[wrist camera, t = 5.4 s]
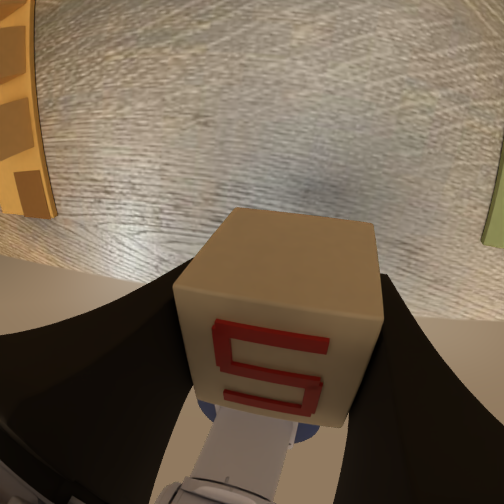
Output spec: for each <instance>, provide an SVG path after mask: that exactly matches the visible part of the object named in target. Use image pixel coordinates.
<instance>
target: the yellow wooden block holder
mask: <svg viewBox="0 0 504 504" xmlns="http://www.w3.org/2000/svg"><path fill="white" fill-rule="evenodd" d="M34 8H35V0H0V204H1V208H2V211H3V213H8V214H19V215H24V217H33V218H43V219H51V218H54V217H56V216H57V211H56V207H55V203H54V199H53V194H52V190H51V185H50V181H49V176H48V171H47V166H46V161H45V155H44V149H43V143H42V137H41V130H40V123H39V115H38V106H37V96H36V84H35V67H34Z"/></svg>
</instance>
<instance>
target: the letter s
mask: <svg viewBox="0 0 504 504" xmlns="http://www.w3.org/2000/svg"><path fill="white" fill-rule="evenodd" d="M173 292H174V298H175V303H176V308H177V313H178V318H179V323H180V328H181V333H182V338H183V342H184V347H185V351H186V356H187V360H188V364H189V369H190V373H191V377H192V381H193V385H194V389H195V393H196V397H197V399H198V400H201V401H204V402H208V403H212V404H216V405H219V406H223V407H227V408H231V409H235V410H240V411H244V412H248V413H253V414H257V415H262V416H267V417H272V418H277V419H282V420H288V421H294V422H299V423H306V424H312V425H319V426H326V427H334V428H341V427H342V426H343V424H344V421H345V419H346V417H347V415H348V413H349V410H350V408H351V406H352V404H353V401H354V399H355V396H356V394H357V392H358V389H359V387H360V384H361V382H362V379H363V377H364V374H365V372H366V369H367V367H368V364H369V361H370V359H371V356H372V353H373V350H374V348H375V345H376V342H377V339H378V336H379V333H380V330H381V327H382V324H383V321H384V311H383V299H382V289H381V279H380V270H379V262H378V254H377V246H376V239H375V232H374V226H373V224H372V223H367V222H360V221H352V220H345V219H337V218H329V217H321V216H313V215H304V214H296V213H287V212H278V211H269V210H259V209H249V208H239V207H236V208H234V210H233V211H232V212H231V213H230V214H229V216H228V217H227V218H226V219H225V220H224V222H223V223H222V224H221V225H220V226H219V228H218V229H217V230H216V231H215V233H214V234H213V235H212V236H211V237H210V239H209V240H208V241H207V242H206V244H205V245H204V246H203V247H202V249H201V250H200V251H199V252H198V254H197V255H196V256H195V257H194V258H193V260H192V261H191V262H190V263H189V265H188V266H187V267H186V269H185V270H184V271H183V272H182V274H181V275H180V276H179V277H178V279H177V280H176V281H175V282H174V284H173Z"/></svg>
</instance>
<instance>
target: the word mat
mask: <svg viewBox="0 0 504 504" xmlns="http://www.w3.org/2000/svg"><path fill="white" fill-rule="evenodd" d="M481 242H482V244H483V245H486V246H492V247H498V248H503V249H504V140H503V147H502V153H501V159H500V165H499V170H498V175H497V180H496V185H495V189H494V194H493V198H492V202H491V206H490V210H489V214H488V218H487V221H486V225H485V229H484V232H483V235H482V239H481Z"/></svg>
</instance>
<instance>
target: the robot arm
mask: <svg viewBox="0 0 504 504" xmlns="http://www.w3.org/2000/svg"><path fill="white" fill-rule="evenodd" d="M192 260H193V258H192V259H190V260H188V261H187V262H185V263H183V264H181V265H180V266H178V267H176V268H175V269H173V270H171V271H169V272H168V273H166V274H164V275H162V276H161V277H159V278H157V279H156V280H154V281H152V282H150V283H148V284H146V285H144V286H142V287H141V288H139V289H137V290H135V291H133V292H131V293H129V294H127V295H126V296H123V297H121V298H119V299H117V300H115V301H113V302H111V303H109V304H106V305H104V306H101V307H99V308H97V309H94V310H92V311H89V312H87V313H84V314H81V315H78V316H75V317H73V318H70V319H66V320H63V321H60V322H58V323H54V324H51V325H47V326H44V327H40V328H36V329H31V330H27V331H23V332H18V333H13V334H6V335H0V504H149V500H150V497H151V494H152V490H153V487H154V483H155V479H156V477H157V473H158V471H159V468H160V465H161V461H162V459H163V456H164V453H165V450H166V447H167V445H168V442H169V439H170V437H171V434H172V431H173V429H174V426H175V424H176V421H177V419H178V416H179V414H180V411H181V409H182V406H183V404H184V402H185V400H186V398H187V395H188V393H189V391H190V390H191V388H192V386H193V381H192V377H191V373H190V369H189V364H188V360H187V356H186V351H185V347H184V342H183V338H182V333H181V328H180V323H179V318H178V313H177V308H176V303H175V298H174V292H173V284H174V282H175V281H176V280H177V279H178V277H179V276H180V275H181V274H182V272H183V271H184V270H185V269H186V267H187V266H188V265H189V263H190V262H191V261H192ZM380 279H381V289H382V299H383V311H384V321H383V324H382V327H381V330H380V333H379V336H378V339H377V342H376V345H375V348H374V350H373V353H372V356H371V359H370V361H369V364H368V367H367V369H366V372H365V374H364V377H363V379H362V382H361V384H360V387H359V389H358V392H357V394H356V396H355V399H354V401H353V404H352V406H351V408H350V410H349V423H348V434H347V441H346V447H345V452H344V458H343V463H342V468H341V472H340V477H339V482H338V486H337V490H336V494H335V499H334V502H333V504H504V426H503V424H502V423H500V422H499V421H498V420H497V419H496V418H495V417H494V416H493V415H492V414H491V413H490V412H489V411H488V410H487V409H486V408H485V407H484V406H483V405H482V404H481V403H480V402H479V401H478V400H477V399H476V397H475V396H474V395H473V394H472V393H471V392H470V391H469V390H468V389H467V388H466V387H465V385H464V384H463V383H462V382H461V381H460V380H459V378H458V377H457V376H456V375H455V373H454V372H453V371H452V370H451V369H450V367H449V366H448V365H447V364H446V363H445V362H444V360H443V359H442V357H441V356H440V355H439V354H438V352H437V351H436V349H435V348H434V347H433V345H432V344H431V342H430V341H429V340H428V338H427V337H426V335H425V334H424V332H423V331H422V329H421V328H420V326H419V325H418V324H417V322H416V320H415V319H414V317H413V315H412V314H411V312H410V311H409V309H408V308H407V306H406V304H405V303H404V301H403V299H402V298H401V296H400V294H399V293H398V291H397V289H396V288H395V286H394V285H393V283H392V281H391V280H390V278H389V277H388V275H387V274H380ZM215 409H216V414H217V415H216V418H215V420H214V422H213V425H212V427H211V429H210V432H209V434H208V436H207V439H206V441H205V444H204V446H203V448H202V450H201V452H200V455H199V457H198V459H197V462H196V464H195V466H194V469H193V471H192V473H191V475H190V477H185V479H184V481H183V483H182V484H181V483H179V482H174V483H172V484H170V485H167V486H166V487H165V488H164V489H163V490H162V492H161V493H160V495H159V496H158V498H157V500H156V502H155V504H276V503H274V502H273V499H274V496H275V492H276V489H277V485H278V482H279V478H280V475H281V471H282V468H283V464H284V460H285V456H286V453H287V449H292V448H293V445H294V440H295V436H296V431H297V427H298V422H294V421H288V420H282V419H277V418H272V417H267V416H262V415H257V414H253V413H248V412H244V411H240V410H235V409H231V408H227V407H223V406H219V405H216V404H215Z"/></svg>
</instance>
